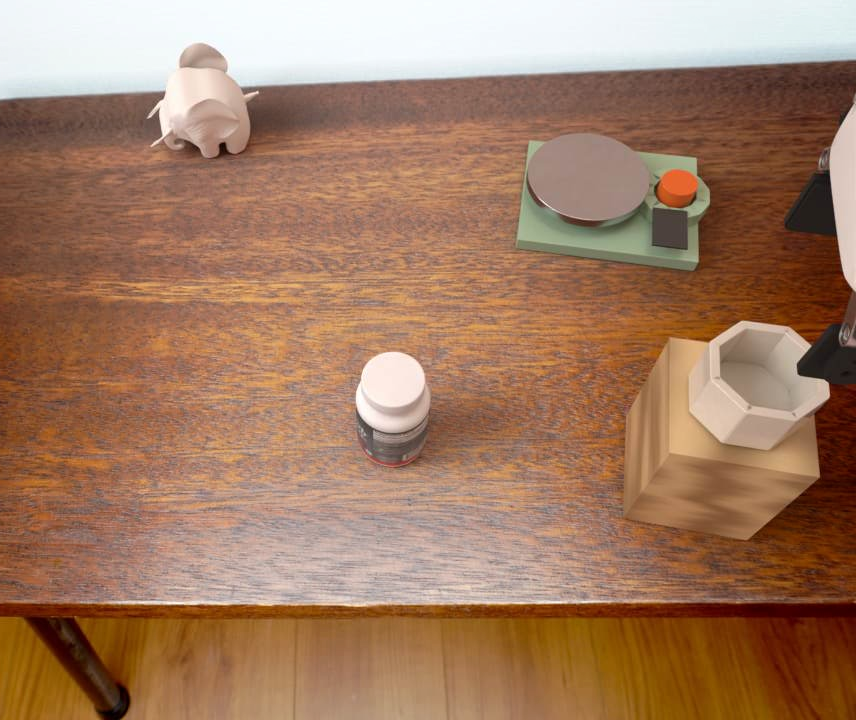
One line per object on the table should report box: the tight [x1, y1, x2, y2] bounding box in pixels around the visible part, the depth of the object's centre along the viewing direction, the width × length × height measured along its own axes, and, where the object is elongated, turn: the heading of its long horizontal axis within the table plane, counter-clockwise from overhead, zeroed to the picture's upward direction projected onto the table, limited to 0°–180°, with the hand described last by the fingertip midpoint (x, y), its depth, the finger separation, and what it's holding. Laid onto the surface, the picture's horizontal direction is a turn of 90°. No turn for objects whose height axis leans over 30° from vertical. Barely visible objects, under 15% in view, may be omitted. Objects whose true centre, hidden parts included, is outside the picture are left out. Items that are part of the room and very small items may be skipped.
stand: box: [622, 336, 821, 541], centre depth 59 cm, size 9×9×12 cm
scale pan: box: [526, 132, 688, 250], centre depth 76 cm, size 14×12×1 cm
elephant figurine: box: [146, 42, 260, 159], centre depth 83 cm, size 10×12×9 cm
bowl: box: [689, 320, 831, 450], centre depth 52 cm, size 7×7×4 cm
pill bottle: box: [354, 351, 432, 468], centre depth 63 cm, size 6×6×10 cm
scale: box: [515, 139, 711, 272], centre depth 77 cm, size 17×13×3 cm
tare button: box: [656, 169, 698, 208], centre depth 75 cm, size 3×3×2 cm
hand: (819, 298), depth 44 cm, fingers open, 9 cm apart
